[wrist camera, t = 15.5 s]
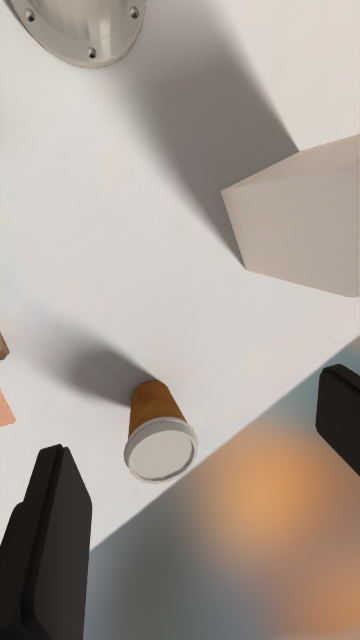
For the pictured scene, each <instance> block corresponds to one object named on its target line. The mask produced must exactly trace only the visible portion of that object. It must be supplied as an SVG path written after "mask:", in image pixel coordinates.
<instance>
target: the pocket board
mask: <svg viewBox="0 0 360 640" xmlns="http://www.w3.org/2000/svg"><path fill="white" fill-rule="evenodd" d="M8 354H9V350H8V348H7V345H6V343H5V341H4V339H3V337H2V335H1V333H0V360H4V359H5V357H6V356H7V355H8Z"/></svg>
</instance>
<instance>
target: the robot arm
mask: <svg viewBox="0 0 360 640" xmlns="http://www.w3.org/2000/svg"><path fill="white" fill-rule="evenodd" d="M10 1H11V3H12V5H13V8H14V9H15V11H16V13H17V14H18V16H19V18H20V19H21V21H22V23H23V24H24V26H25V27H26V28H27V29H28V31H29V32H30V33H31V34H32V36H33V37H34V38H35V39H36V40H37V41H38V42H39V43H40V44H41V45H42V46H43V47H44V48H45V49H46V50H47V51H49V52H50V53H52V54H53V55H55V56H56V57H58V58H59V59H61V60H63V61H65V62H67V63H70V64H72V65H75V66H79V67H84V68H100V67H104V66H108V65H110V64H112V63H114V62H116V61H117V60H119V59H120V58H121V57H122V56H124V55H125V54H126V53H127V52H128V51H129V49H130V48H131V46H132V45H133V43H134V42H135V40H136V38H137V35H138V33H139V30H140V28H141V24H142V19H143V15H144V7H145V0H10ZM132 16H135V17H136V19H134V18H133V17H132ZM30 19H34V21H32V22H30ZM91 55H94V56H95V58H94V59H92V58H90V56H91ZM316 429H317V431H318V433H319V434H320V435H321V436H322V437H323V439H324V440H325V441H326V442H327V443H328V444H329V445H330V446H331V447H332V448H333V449H334V450H335V451H336V452H337V453H338V454H339V455H340V456H341V457H342V458H343V459H344V460H345V461H346V463H348V465H350V467H351V468H352V469H353V470H354V471H355V472H356V473H357V474H358V475H359V476H360V376H359V375H358V374H356V373H354V372H353V371H351V370H350V369H348V368H347V367H345V366H343V365H341V364H336V365H332V366H329V367H326V368H324V369H323V370H322V373H321V374H320V378H319V390H318V402H317V414H316ZM91 520H92V502H91V498H90V496H89V494H88V491H87V489H86V487H85V484H84V482H83V480H82V477H81V475H80V473H79V471H78V468H77V466H76V464H75V461H74V459H73V457H72V454H71V452H70V450H69V448H68V447H64V448H63V447H62V445H61V444H58V445H54V446H51V447H47V448H44V449H41V450H40V451H39V453H38V456H37V460H36V463H35V466H34V469H33V472H32V475H31V478H30V481H29V485H28V488H27V491H26V494H25V497H24V500H23V502H21V503H19V504H17V505H16V507H15V508H14V510H13V512H12V514H11V517H10V519H9V522H8V525H7V528H6V531H5V534H4V537H3V540H2V543H1V545H0V640H83V630H84V616H85V603H86V588H87V574H88V561H89V547H90V534H91Z"/></svg>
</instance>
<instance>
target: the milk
mask: <svg viewBox="0 0 360 640" xmlns="http://www.w3.org/2000/svg"><path fill="white" fill-rule="evenodd" d="M220 192H221V195H222V198H223V201H224V204H225V207H226V210H227V213H228V216H229V219H230V223H231V226H232V229H233V232H234V235H235V238H236V241H237V244H238V247H239V250H240V253H241V256H242V259H243V262H244V265H245V268H246V270H248V271H251V272H255V273H259V274H263V275H266V276H270V277H274V278H278V279H282V280H285V281H289V282H293V283H297V284H301V285H304V286H308V287H312V288H316V289H319V290H323V291H327V292H331V293H335V294H338V295H342V296H346V297H360V134H358V135H355V136H351V137H348V138H344V139H341V140H338V141H334V142H331V143H327V144H324V145H320V146H317V147H313V148H310V149H306V150H303V151H300V152H298V153H296V154H294V155H292V156H290V157H288V158H286V159H284V160H281V161H279V162H277V163H275V164H273V165H271V166H269V167H267V168H265V169H263V170H261V171H259V172H257V173H255V174H253V175H251V176H249V177H247V178H245V179H243V180H241V181H239V182H237V183H235V184H233V185H231V186H229V187H227V188H225V189H223V190H221V191H220Z"/></svg>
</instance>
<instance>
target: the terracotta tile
mask: <svg viewBox="0 0 360 640" xmlns="http://www.w3.org/2000/svg"><path fill="white" fill-rule="evenodd" d="M14 422H15V418H14V416H13V414H12V412H11V410H10V408H9V406H8V404H7V402H6V400H5V398H4V396H3V395H2V393H1V391H0V427H1V426H5V425H8V424H12V423H14Z"/></svg>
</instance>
